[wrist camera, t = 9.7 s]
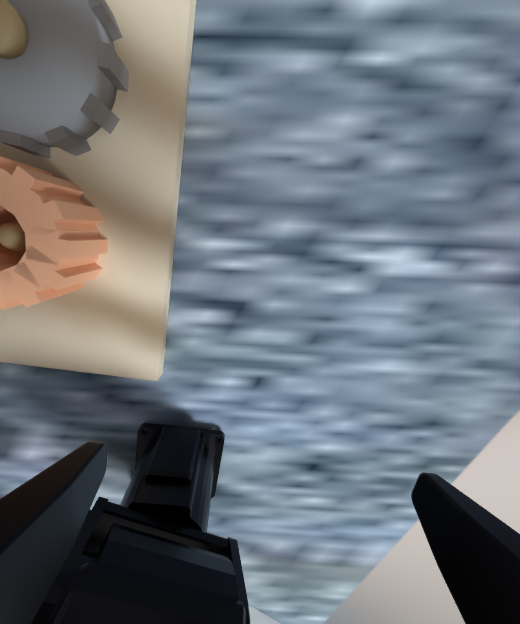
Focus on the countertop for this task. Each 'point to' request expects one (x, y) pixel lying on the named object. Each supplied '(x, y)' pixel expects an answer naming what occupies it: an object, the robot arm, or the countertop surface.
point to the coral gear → (46, 236)
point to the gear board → (99, 168)
